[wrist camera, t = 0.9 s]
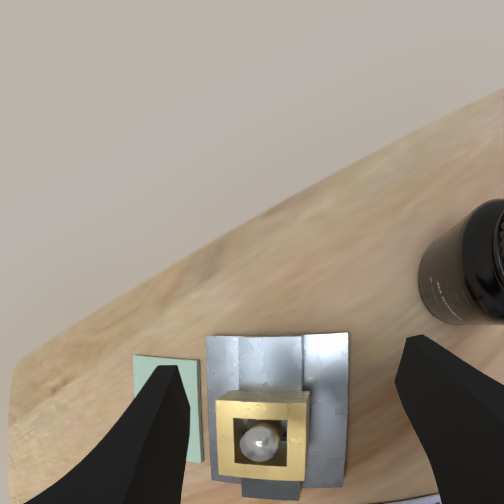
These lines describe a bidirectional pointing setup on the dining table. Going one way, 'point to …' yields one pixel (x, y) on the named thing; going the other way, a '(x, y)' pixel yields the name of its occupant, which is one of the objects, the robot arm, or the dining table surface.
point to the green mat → (191, 383)
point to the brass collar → (269, 408)
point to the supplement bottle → (467, 269)
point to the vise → (284, 379)
